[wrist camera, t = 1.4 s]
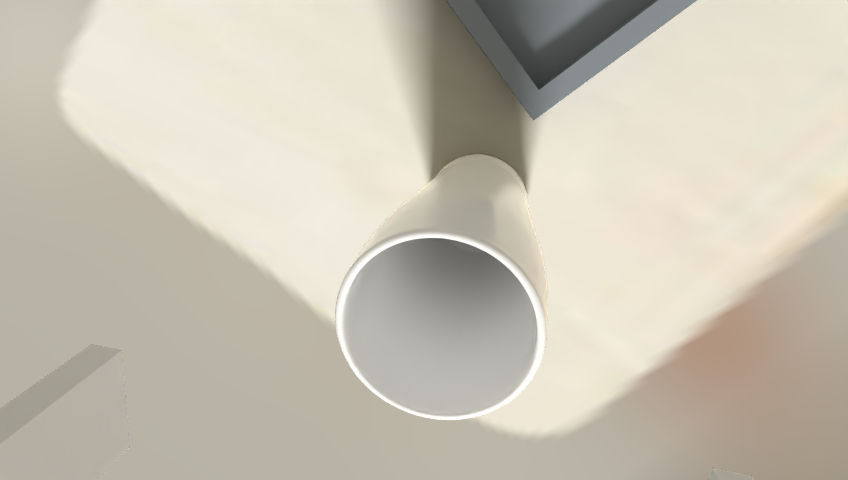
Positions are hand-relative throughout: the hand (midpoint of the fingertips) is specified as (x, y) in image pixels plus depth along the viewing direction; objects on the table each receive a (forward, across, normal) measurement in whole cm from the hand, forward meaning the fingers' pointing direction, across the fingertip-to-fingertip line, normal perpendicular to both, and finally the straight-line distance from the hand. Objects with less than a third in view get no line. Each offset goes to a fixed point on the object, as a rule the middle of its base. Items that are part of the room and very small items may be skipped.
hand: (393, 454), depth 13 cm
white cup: (+20, 0, 0) cm, 21 cm away
